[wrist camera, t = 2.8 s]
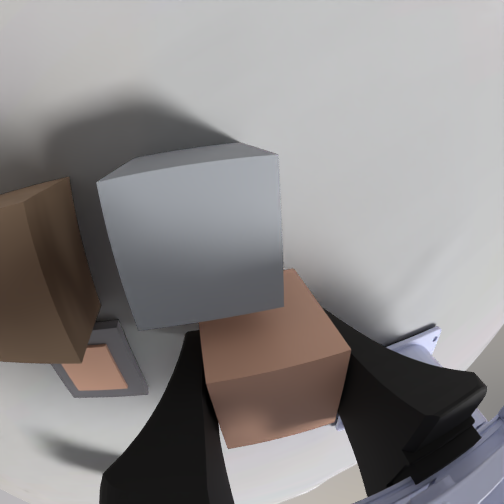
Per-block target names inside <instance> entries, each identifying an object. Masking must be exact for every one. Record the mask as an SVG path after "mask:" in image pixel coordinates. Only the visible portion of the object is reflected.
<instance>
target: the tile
mask: <svg viewBox="0 0 504 504" xmlns="http://www.w3.org/2000/svg"><path fill="white" fill-rule="evenodd" d="M51 365H52V366H53V368H54V369H55V371H56V372H57V374H58V375H59V377H60V378H61V380H62V381H63V383H64V384H65V386H66V387H67V389H68V390H69V391H70V393H71V394H72V396H73V397H74V398H87V397H119V396H135V395H148V385H147V383H146V381H145V379H144V377H143V374H142V372H141V370H140V368H139V366H138V364H137V362H136V360H135V357H134V355H133V353H132V351H131V348H130V346H129V344H128V342H127V339H126V337H125V334H124V332H123V330H122V327H121V325H120V322H119V320H113V321H104V322H96V323H95V324H94V327H93V330H92V333H91V336H90V339H89V342H88V345H87V348H86V351H85V354H84V358H83V361H82V364H51Z"/></svg>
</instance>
